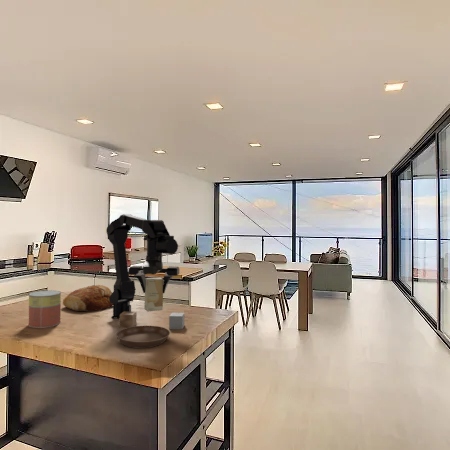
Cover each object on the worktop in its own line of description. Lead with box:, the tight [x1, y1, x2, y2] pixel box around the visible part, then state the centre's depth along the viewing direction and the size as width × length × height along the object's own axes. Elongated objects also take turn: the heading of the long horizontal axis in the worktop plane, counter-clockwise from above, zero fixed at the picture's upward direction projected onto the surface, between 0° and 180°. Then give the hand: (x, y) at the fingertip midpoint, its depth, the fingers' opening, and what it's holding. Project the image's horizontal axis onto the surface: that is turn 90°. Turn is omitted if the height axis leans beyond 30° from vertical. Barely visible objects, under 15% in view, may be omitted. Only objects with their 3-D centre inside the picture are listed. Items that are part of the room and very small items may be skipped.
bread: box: [62, 284, 113, 312], centre depth 170 cm, size 20×18×10 cm
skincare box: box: [143, 277, 164, 313], centre depth 139 cm, size 6×4×12 cm
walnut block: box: [119, 311, 137, 329], centre depth 140 cm, size 5×5×5 cm
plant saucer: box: [115, 325, 171, 349], centre depth 123 cm, size 18×18×3 cm
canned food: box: [27, 289, 62, 329], centre depth 142 cm, size 11×11×12 cm
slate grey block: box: [168, 312, 186, 330], centre depth 139 cm, size 5×5×5 cm
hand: (154, 293), depth 139 cm, fingers closed on skincare box, 7 cm apart
